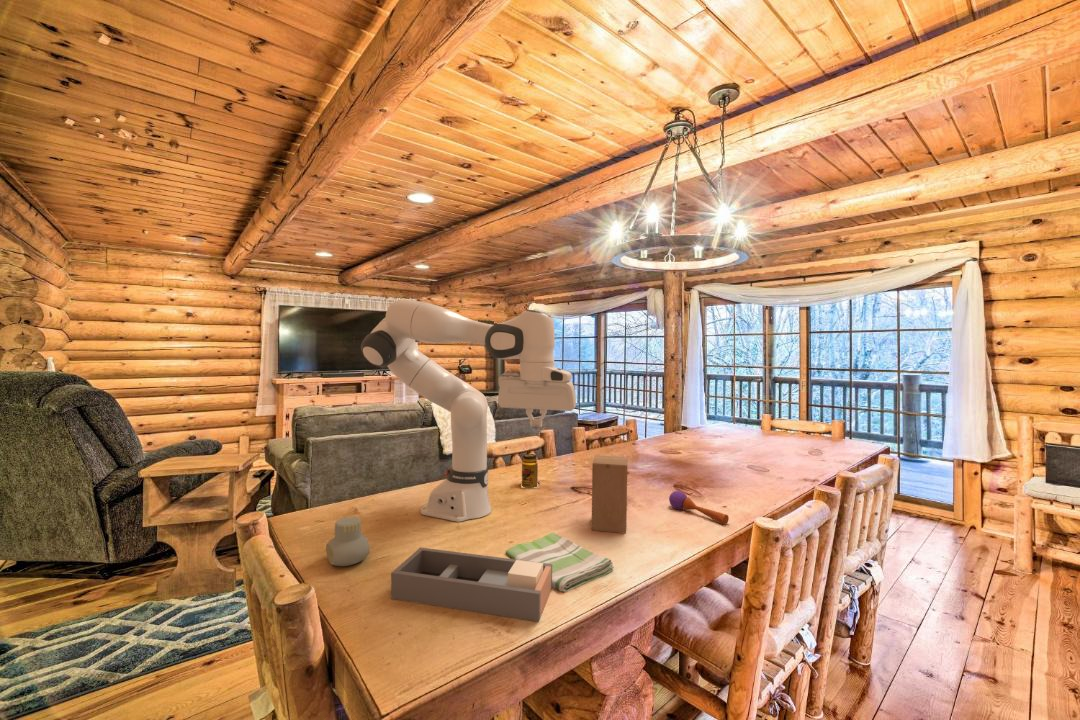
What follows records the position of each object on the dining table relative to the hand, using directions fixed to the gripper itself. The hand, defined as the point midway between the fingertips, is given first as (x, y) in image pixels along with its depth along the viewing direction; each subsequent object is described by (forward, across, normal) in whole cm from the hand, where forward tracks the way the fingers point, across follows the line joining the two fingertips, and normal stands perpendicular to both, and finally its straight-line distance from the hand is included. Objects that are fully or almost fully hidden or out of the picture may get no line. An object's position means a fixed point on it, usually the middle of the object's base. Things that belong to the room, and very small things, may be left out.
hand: (536, 426), depth 116 cm
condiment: (+33, -16, +54) cm, 65 cm away
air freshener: (+33, -43, -17) cm, 57 cm away
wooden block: (+33, +18, +22) cm, 44 cm away
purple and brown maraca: (+33, +44, +39) cm, 68 cm away
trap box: (+33, -8, -23) cm, 41 cm away
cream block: (+30, +4, -23) cm, 38 cm away
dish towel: (+34, +7, -4) cm, 35 cm away
